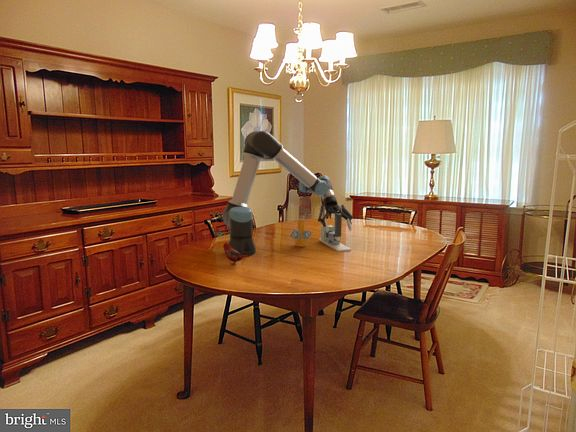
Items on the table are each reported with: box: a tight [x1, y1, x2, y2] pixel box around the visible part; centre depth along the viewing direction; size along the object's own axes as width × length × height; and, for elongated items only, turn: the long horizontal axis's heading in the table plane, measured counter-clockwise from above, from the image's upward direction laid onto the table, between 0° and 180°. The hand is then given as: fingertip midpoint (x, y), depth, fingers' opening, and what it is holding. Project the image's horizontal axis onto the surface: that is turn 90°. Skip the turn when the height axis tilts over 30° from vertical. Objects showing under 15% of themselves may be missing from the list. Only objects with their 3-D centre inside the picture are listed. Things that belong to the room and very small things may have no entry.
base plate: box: [318, 238, 352, 253], centre depth 236 cm, size 28×8×1 cm, turn 17°
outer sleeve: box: [328, 231, 341, 245], centre depth 236 cm, size 7×4×6 cm, turn 17°
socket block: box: [320, 224, 335, 241], centre depth 245 cm, size 5×6×8 cm
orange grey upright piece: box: [290, 218, 312, 248], centre depth 234 cm, size 12×10×15 cm
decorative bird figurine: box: [222, 242, 250, 266], centre depth 196 cm, size 3×18×10 cm, turn 51°
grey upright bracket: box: [326, 214, 343, 241], centre depth 237 cm, size 17×3×15 cm, turn 17°
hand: (339, 230), depth 228 cm, fingers open, 13 cm apart
